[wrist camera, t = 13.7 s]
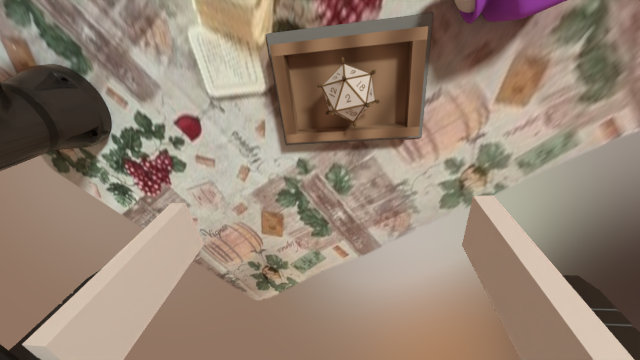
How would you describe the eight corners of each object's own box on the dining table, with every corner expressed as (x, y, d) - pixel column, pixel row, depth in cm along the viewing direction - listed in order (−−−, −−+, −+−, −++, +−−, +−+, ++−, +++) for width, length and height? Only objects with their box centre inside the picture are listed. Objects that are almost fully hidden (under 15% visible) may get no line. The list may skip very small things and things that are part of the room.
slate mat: (286, 144, 48) (286, 144, 47) (266, 33, 39) (265, 33, 39) (420, 136, 44) (421, 137, 44) (432, 13, 35) (433, 12, 35)
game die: (361, 83, 43) (402, 105, 37) (326, 119, 44) (360, 147, 38) (337, 39, 37) (382, 56, 30) (295, 82, 38) (330, 108, 31)
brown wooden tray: (291, 136, 47) (286, 143, 44) (276, 44, 40) (269, 44, 37) (414, 128, 43) (418, 135, 40) (422, 26, 36) (428, 26, 33)
